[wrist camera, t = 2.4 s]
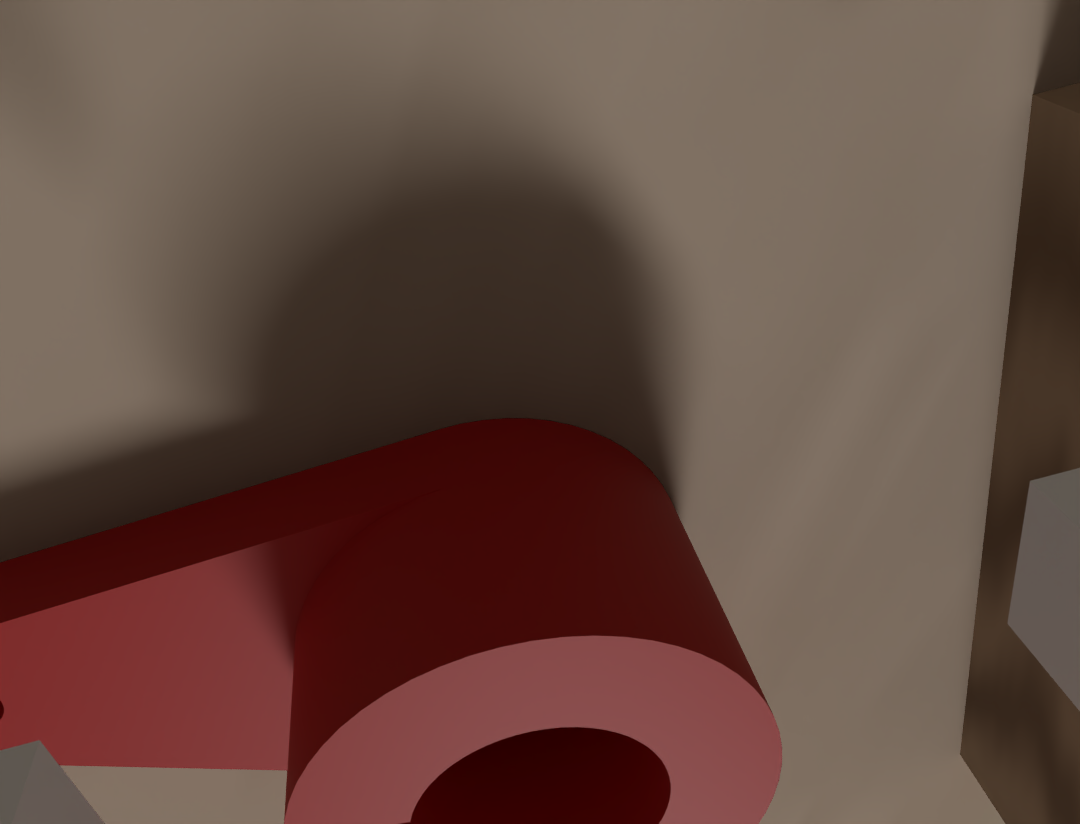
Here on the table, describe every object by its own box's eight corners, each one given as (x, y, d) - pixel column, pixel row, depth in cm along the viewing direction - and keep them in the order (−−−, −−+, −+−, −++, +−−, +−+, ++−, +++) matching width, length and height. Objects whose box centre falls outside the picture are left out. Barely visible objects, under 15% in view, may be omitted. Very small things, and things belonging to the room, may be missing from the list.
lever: (698, 398, 21) (823, 605, 16) (661, 680, 26) (745, 911, 21) (-176, 470, 18) (-400, 753, 13) (-26, 770, 23) (-140, 1066, 18)
